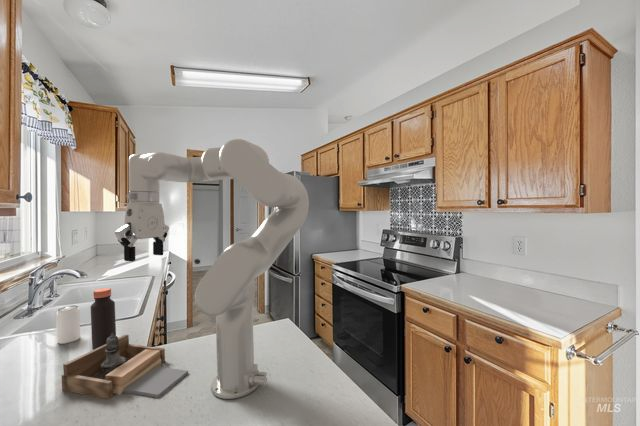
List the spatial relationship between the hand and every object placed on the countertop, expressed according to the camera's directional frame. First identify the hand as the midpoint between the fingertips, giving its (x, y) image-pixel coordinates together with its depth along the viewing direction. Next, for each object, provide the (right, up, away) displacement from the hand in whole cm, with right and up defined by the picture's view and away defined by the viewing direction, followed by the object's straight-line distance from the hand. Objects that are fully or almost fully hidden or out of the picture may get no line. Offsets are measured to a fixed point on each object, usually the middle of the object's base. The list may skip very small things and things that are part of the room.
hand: (144, 257), depth 84 cm
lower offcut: (-2, -34, -1) cm, 34 cm away
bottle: (-25, -34, +18) cm, 46 cm away
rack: (-8, -34, 0) cm, 35 cm away
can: (-42, -34, +23) cm, 59 cm away
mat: (+6, -34, -4) cm, 34 cm away
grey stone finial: (-10, -34, +1) cm, 35 cm away
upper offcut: (-2, -32, -1) cm, 32 cm away
